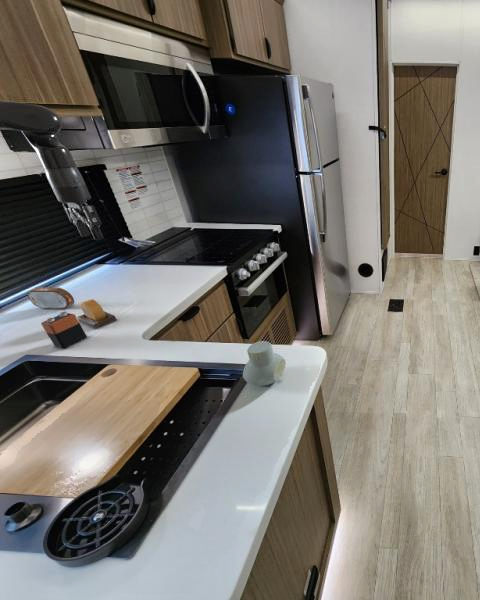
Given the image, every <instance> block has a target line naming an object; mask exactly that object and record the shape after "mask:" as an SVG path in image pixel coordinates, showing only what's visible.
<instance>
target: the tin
mask: <svg viewBox="0 0 480 600" xmlns="http://www.w3.org/2000/svg"><path fill="white" fill-rule="evenodd" d="M26 296H27V298H28V300H29V301H30V302H31V304H32V305H33V306H35V307H37V308H40V309H44V310H65V309H68V308H69V307H71V306H73V305H74V304H75V298H74V297H73V294H71V292H69V291H68V290H66V289H64V288H62V287H59V286H58V287H57V286H55V287H54V286H50V287H49V286H48V287H47V286H37V287H34V288H33V289H31V290H29V291H28V292H27V295H26Z"/></svg>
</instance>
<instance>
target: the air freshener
mask: <svg viewBox="0 0 480 600" xmlns="http://www.w3.org/2000/svg"><path fill="white" fill-rule="evenodd" d="M246 351H247V352H246V353H247V355H248V361H247V362H246V364H245V365H244V367H243V371H242V377H243V379H244V381H245V382H246V383H248V385H249V384H250V385H252V386H256V387H263V386H268V385H271V384H273V383H275V382H277V381H279V380H280V378H281V377H282V376H283V374H284V371H285V368H286V359H285V357H283V356H282V355H281V354H279V353H276V352H274V350H273V346H272V344H271V342H269V341H267V340H260V341H256V342H254V343H252V344H250V345H249V346H248V348H247V350H246Z"/></svg>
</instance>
